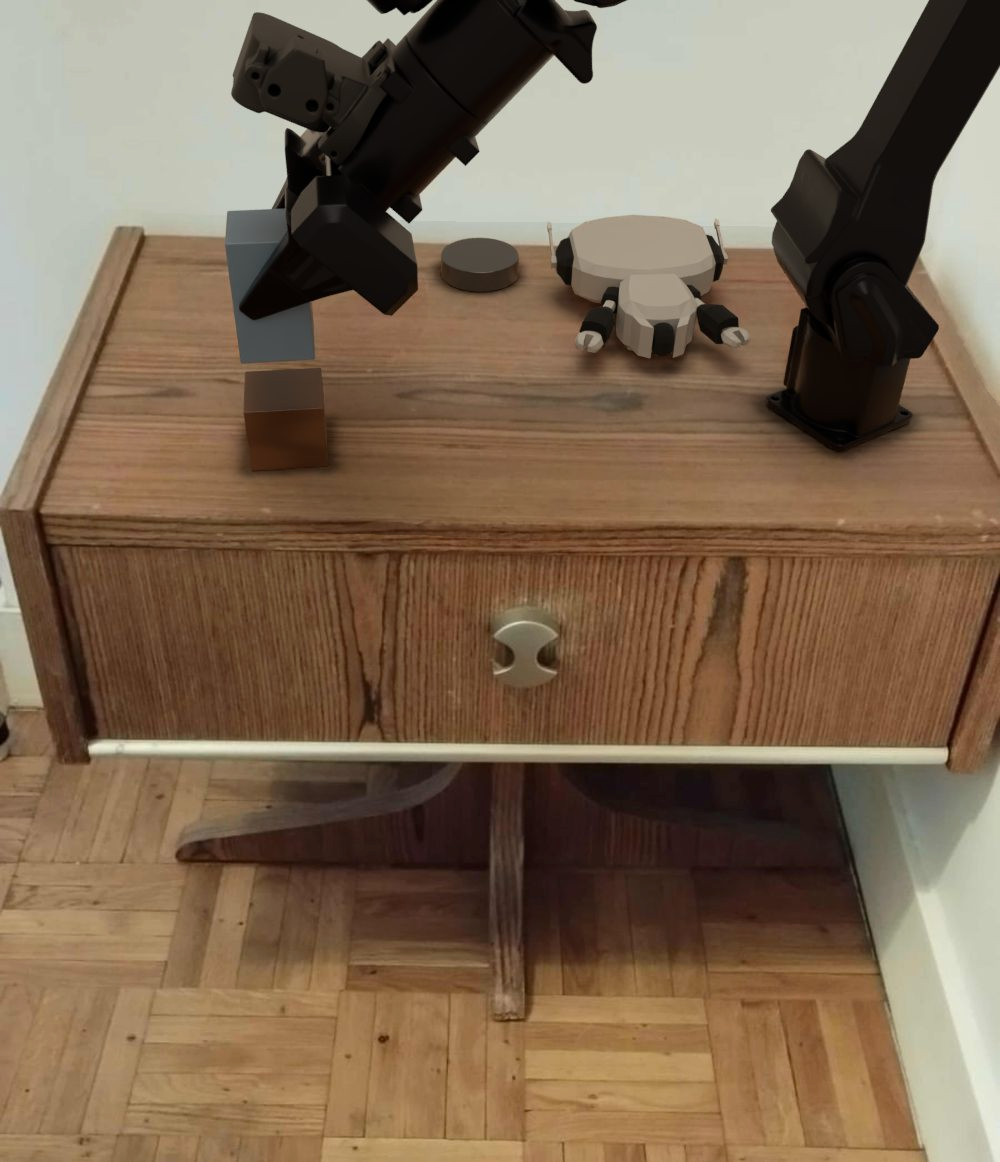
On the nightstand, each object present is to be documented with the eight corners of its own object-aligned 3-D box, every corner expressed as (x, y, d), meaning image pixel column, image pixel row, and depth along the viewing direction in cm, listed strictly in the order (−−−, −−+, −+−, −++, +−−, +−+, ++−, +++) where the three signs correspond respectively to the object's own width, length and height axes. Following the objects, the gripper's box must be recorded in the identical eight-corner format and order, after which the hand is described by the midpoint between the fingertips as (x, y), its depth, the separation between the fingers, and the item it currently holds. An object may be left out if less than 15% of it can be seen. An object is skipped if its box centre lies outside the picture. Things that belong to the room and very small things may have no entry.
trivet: (533, 279, 93) (534, 260, 92) (468, 299, 90) (468, 279, 89) (490, 249, 96) (490, 231, 95) (426, 268, 94) (426, 249, 93)
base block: (326, 424, 78) (321, 367, 75) (328, 466, 74) (323, 407, 72) (252, 429, 77) (244, 371, 75) (251, 471, 74) (243, 412, 71)
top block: (313, 324, 73) (303, 206, 69) (315, 360, 70) (304, 240, 66) (242, 328, 73) (226, 210, 68) (240, 364, 70) (224, 243, 65)
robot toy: (753, 382, 84) (709, 262, 94) (765, 323, 81) (718, 205, 91) (566, 388, 83) (543, 266, 94) (570, 328, 80) (546, 208, 90)
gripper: (317, -93, 66) (134, 128, 72) (327, 20, 52) (99, 283, 58) (470, 60, 72) (289, 252, 78) (517, 198, 58) (292, 421, 64)
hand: (246, 294), depth 69 cm, fingers closed on top block, 4 cm apart
